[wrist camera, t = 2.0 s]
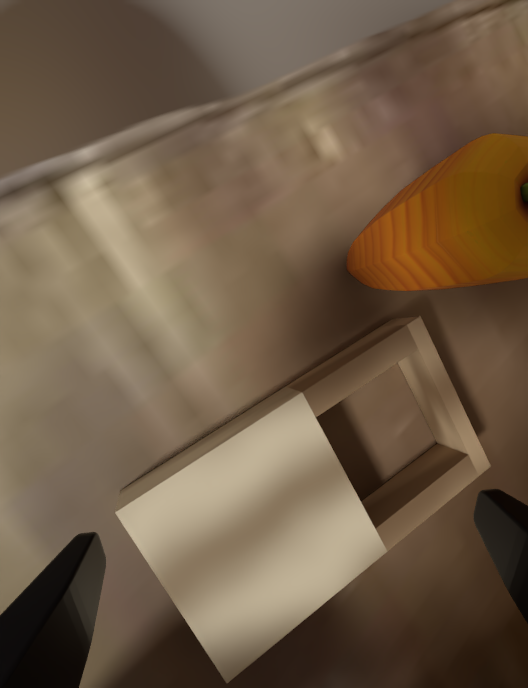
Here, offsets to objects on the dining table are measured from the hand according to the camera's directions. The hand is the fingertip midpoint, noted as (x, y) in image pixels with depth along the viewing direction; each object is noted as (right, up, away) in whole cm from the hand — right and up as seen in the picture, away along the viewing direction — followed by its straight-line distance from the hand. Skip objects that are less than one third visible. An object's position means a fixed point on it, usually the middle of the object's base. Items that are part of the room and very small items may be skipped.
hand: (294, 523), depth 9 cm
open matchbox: (+2, -3, +13) cm, 13 cm away
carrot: (+4, +9, +14) cm, 17 cm away
